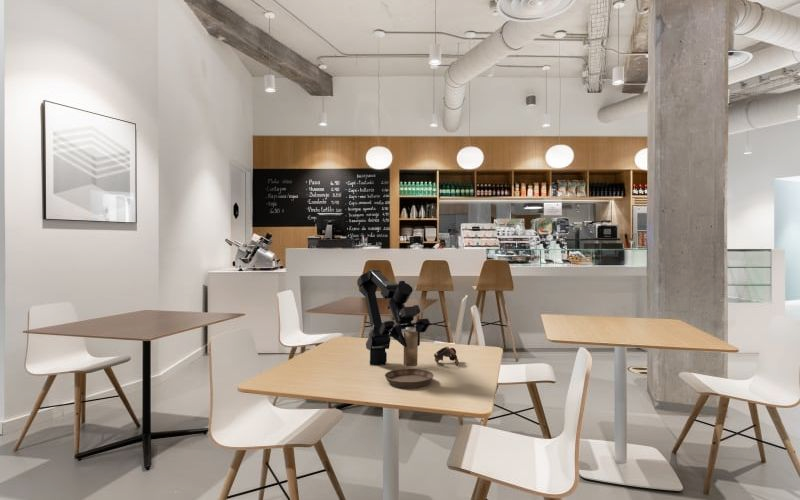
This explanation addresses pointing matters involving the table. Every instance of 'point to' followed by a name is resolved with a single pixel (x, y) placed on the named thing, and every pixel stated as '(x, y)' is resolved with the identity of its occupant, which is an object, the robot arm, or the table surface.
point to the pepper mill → (411, 346)
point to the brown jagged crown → (446, 355)
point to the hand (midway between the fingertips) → (412, 345)
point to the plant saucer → (409, 377)
